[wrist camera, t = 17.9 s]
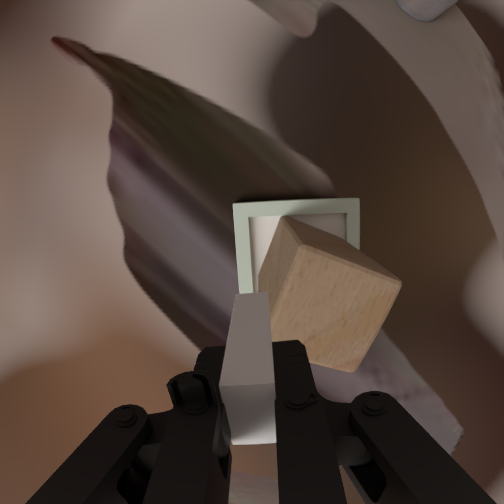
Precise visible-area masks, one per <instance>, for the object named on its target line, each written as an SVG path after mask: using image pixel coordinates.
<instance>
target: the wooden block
mask: <svg viewBox="0 0 504 504" xmlns="http://www.w3.org/2000/svg"><path fill="white" fill-rule="evenodd" d="M401 286H402V282H401V281H400V279H399V278H397V277H396V276H395V275H393V274H392V273H390V272H389V271H388V270H386V269H385V268H384V267H382V266H381V265H380V264H378V263H377V262H375V261H374V260H372V259H371V258H370V257H368V256H367V255H365V254H364V253H363V252H361V251H360V250H358V249H357V248H355V247H354V246H353V245H351V244H350V243H348V242H347V241H345V240H344V239H342V238H340V237H338V236H336V235H333V234H331V233H328V232H326V231H323V230H321V229H318V228H315V227H313V226H310V225H308V224H305V223H303V222H300V221H297V220H295V219H292V218H290V217H287V216H281V217H280V220H279V222H278V225H277V228H276V230H275V233H274V235H273V238H272V241H271V243H270V246H269V248H268V251H267V253H266V256H265V259H264V261H263V264H262V266H261V269H260V271H259V274H258V292H268V301H269V312H270V324H271V336H272V342H277V341H288V340H297V339H298V340H299V341H300V342H301V343H302V344H303V345H305V347H306V351H307V356H308V359H309V363H313V364H317V365H321V366H325V367H329V368H333V369H338V370H342V371H346V372H351V373H352V372H355V371H356V369H357V368H358V366H359V365H360V363H361V361H362V360H363V358H364V356H365V355H366V353H367V351H368V349H369V348H370V346H371V344H372V342H373V341H374V339H375V337H376V335H377V333H378V332H379V330H380V328H381V326H382V324H383V322H384V320H385V319H386V316H387V315H388V313H389V311H390V309H391V307H392V305H393V303H394V301H395V299H396V297H397V294H398V292H399V290H400V288H401Z"/></svg>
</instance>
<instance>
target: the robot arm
mask: <svg viewBox="0 0 504 504" xmlns="http://www.w3.org/2000/svg"><path fill="white" fill-rule="evenodd" d="M167 388H168V391H169V394H170V397H171V400H172V403H173V405H174V406H173V409H171V410H169V411H165V412H161V413H154V414H147V413H146V411H145V410H144V409H143V408H142V407H140V406H138V405H132V404H129V405H122V406H120V407H117V408H115V409H114V410H113V411H111V412H110V413H109V414H108V415H107V416H106V417H105V418H104V419H103V420H102V421H101V423H100V424H99V425H98V426H97V427H96V428H95V429H94V430H93V431H92V433H90V434H89V436H88V437H87V438H86V439H85V440H84V441H83V442H82V443H81V444H80V445H79V447H77V449H76V450H75V451H74V452H73V453H72V454H71V455H70V456H69V458H67V459H66V460H65V462H64V463H63V464H62V465H61V466H60V467H59V468H58V469H57V470H56V471H55V472H54V473H53V474H52V476H51V477H50V478H49V479H48V480H47V481H46V482H45V483H44V484H43V485H42V486H41V487H40V489H39V490H38V491H37V492H36V493H35V494H34V495H33V496H32V497H31V498H30V499H29V500H28V502H27V503H26V504H228V498H229V486H230V475H231V463H232V455H231V451H230V440H232V444H234V445H236V444H238V445H239V444H265V443H276V444H277V465H278V487H279V504H347V502H346V497H345V492H344V487H343V483H342V479H341V474H340V470H339V465H342V466H343V468H344V470H345V472H346V473H347V475H348V476H349V478H350V480H351V481H352V483H353V485H354V486H355V488H356V489H357V491H358V493H359V494H360V496H361V497H362V499H363V500H364V502H365V504H496V503H495V501H494V500H493V499H492V498H491V497H490V496H488V494H487V493H486V492H485V491H484V490H483V489H482V488H481V487H480V486H479V485H478V484H477V483H476V482H475V481H474V480H473V479H472V478H471V477H470V476H469V475H468V474H467V473H466V472H465V471H464V470H463V469H462V467H460V466H459V464H458V463H457V462H456V461H455V460H454V459H453V458H452V457H451V456H450V455H449V454H448V453H447V452H446V451H445V450H444V449H443V448H442V447H441V446H440V445H439V444H438V443H437V442H436V441H435V440H434V439H433V438H432V437H431V436H430V434H429V433H428V432H427V431H426V430H425V429H424V428H423V427H422V426H421V425H420V424H419V423H418V422H417V421H416V420H415V419H414V418H413V417H412V416H411V415H410V414H409V413H408V412H407V411H406V410H405V409H404V408H403V407H402V406H401V405H400V404H399V403H398V402H397V401H396V399H395V398H393V397H392V396H390V395H389V394H387V393H384V392H380V391H369V392H365V393H362V394H360V395H358V396H357V397H355V399H354V400H353V401H352V402H351V403H339V402H333V401H330V400H327V399H325V398H323V397H322V396H321V395H320V394H319V393H318V392H317V390H316V387H315V383H314V379H313V375H312V371H311V367H310V363H309V359H308V356H307V351H306V347H305V345H303V344H302V343H301V342H300V341H299V340H298V339H297V340H288V341H277V342H272V336H271V324H270V312H269V301H268V292H257V293H245V294H236V295H235V300H234V306H233V311H232V317H231V322H230V327H229V333H228V338H227V344H226V346H215V347H205V348H204V349H203V350H202V351H201V352H200V353H199V355H198V357H197V361H196V364H195V367H194V371H190V372H184V373H181V374H179V375H176V376H175V377H173V378H172V379H170V381H169V382H168V384H167Z"/></svg>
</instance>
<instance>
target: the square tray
mask: <svg viewBox="0 0 504 504" xmlns="http://www.w3.org/2000/svg"><path fill="white" fill-rule="evenodd" d="M359 201H360V199H359V198H318V199H292V200H271V201H253V202H238V203H233V215H234V229H235V242H236V255H237V268H238V281H239V293H240V294H245V293H257V292H258V274H259V271H260V269H261V266H262V264H263V261H264V259H265V256H266V253H267V251H268V248H269V246H270V243H271V241H272V238H273V235H274V233H275V230H276V228H277V225H278V222H279V220H280V217H281V216H287V217H290V218H292V219H295V220H297V221H300V222H303V223H305V224H308V225H310V226H313V227H315V228H318V229H321V230H323V231H326V232H328V233H331V234H333V235H336V236H338V237H340V238H342V239H344V240H345V241H347V242H348V243H350V244H351V245H353V246H354V247H355V248H357V249H358V250H360V203H359Z"/></svg>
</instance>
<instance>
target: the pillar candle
mask: <svg viewBox="0 0 504 504" xmlns="http://www.w3.org/2000/svg"><path fill="white" fill-rule="evenodd" d="M395 1H396V2H397V4H398V5H399V6H400V7H401V9H402V10H403V11H405V12H406V13H407V14H408V15H410V16H411V17H413V18H415V19H417V20H420V21H425V22H430V21H432V20H434V19H436V18H437V17H438V16H439V15H441V14H442V13H443V12H444V11H446V10H447V9H448V8H450V7H451V6H452V5H454V4H455V3H456V2H457V1H458V0H395Z"/></svg>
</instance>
